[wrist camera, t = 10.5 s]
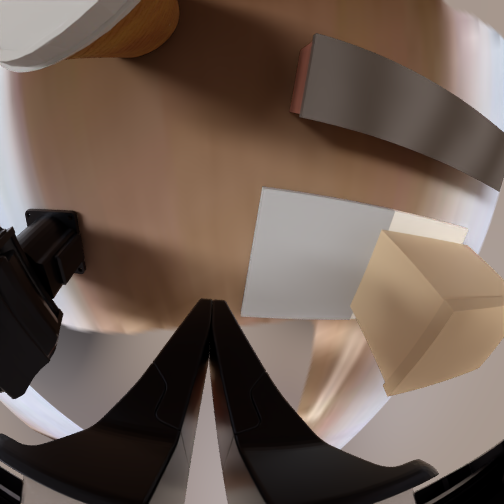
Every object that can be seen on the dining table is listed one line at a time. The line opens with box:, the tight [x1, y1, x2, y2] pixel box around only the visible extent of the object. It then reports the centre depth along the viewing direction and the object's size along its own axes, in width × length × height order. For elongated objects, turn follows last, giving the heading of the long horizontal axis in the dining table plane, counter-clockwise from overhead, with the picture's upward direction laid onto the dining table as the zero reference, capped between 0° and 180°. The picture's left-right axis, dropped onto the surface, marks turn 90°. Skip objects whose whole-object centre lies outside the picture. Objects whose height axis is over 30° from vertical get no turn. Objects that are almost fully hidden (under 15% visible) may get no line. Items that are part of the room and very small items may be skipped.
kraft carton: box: [350, 230, 504, 396], centre depth 21 cm, size 14×9×11 cm, turn 82°
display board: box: [241, 186, 468, 320], centre depth 25 cm, size 24×13×1 cm, turn 82°
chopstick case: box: [289, 33, 504, 191], centre depth 16 cm, size 20×5×5 cm, turn 81°
